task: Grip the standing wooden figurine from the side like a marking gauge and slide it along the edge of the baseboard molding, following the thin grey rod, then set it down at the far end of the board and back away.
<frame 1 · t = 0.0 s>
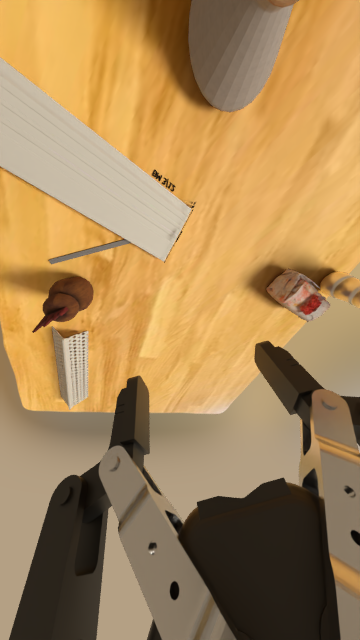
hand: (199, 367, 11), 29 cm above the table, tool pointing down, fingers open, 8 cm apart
food item: (285, 288, 45), on the table
corner bead: (73, 365, 49), on the table
plastic bottle: (327, 280, 45), on the table
wooden figurine: (80, 286, 36), on the table
baseboard molding: (96, 176, 26), on the table, touching thin grey rod
thin grey rod: (97, 249, 32), on the table
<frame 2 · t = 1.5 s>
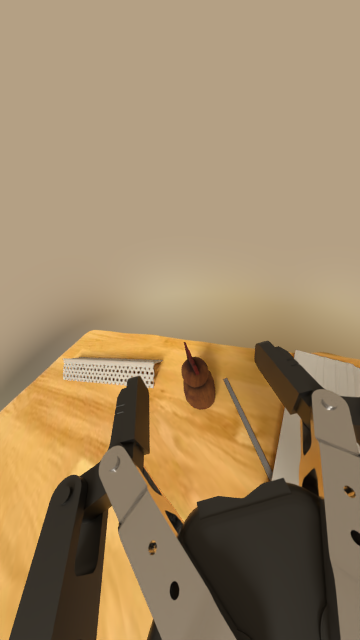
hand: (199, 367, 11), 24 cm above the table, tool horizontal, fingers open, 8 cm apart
corner bead: (112, 372, 46), on the table
wooden figurine: (202, 398, 34), on the table
baseboard molding: (327, 442, 25), on the table, touching thin grey rod
thin grey rod: (247, 425, 29), on the table
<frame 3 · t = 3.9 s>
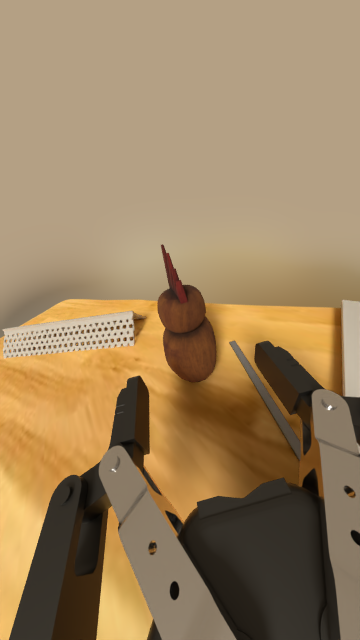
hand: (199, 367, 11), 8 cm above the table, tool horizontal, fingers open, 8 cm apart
corner bead: (77, 340, 34), on the table
wooden figurine: (196, 368, 22), on the table
thin grey rod: (272, 408, 16), on the table
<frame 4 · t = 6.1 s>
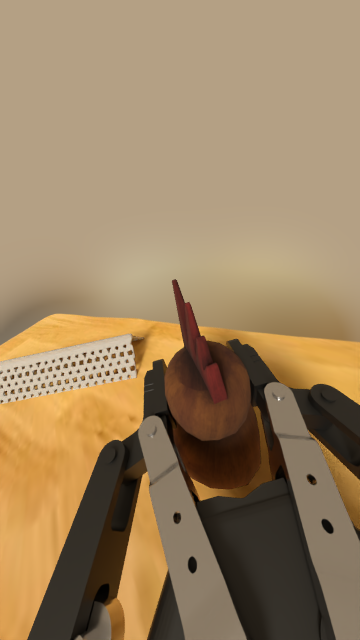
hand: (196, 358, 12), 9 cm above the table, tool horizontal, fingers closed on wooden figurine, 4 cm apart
corner bead: (58, 375, 27), on the table
wooden figurine: (218, 444, 15), on the table, touching gripper
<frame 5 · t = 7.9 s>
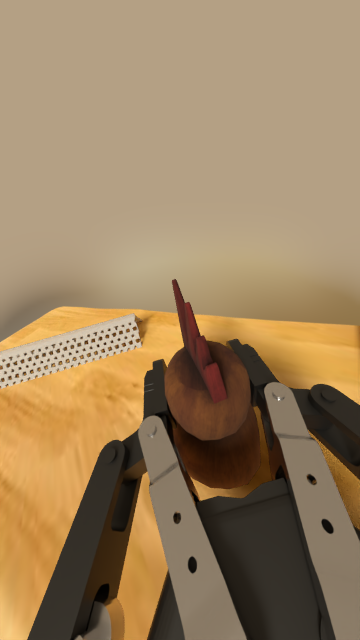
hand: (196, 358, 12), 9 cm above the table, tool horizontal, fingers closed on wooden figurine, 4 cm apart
corner bead: (69, 357, 31), on the table
wooden figurine: (218, 444, 15), on the table, touching gripper
when the fingers open (9 cm above the table, at t = 10.2 s): wooden figurine stays where it is, on the table.
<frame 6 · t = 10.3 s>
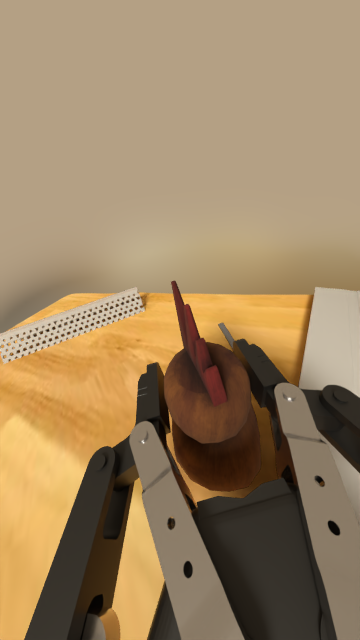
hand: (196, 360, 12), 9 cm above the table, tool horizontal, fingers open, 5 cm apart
corner bead: (83, 328, 38), on the table
wooden figurine: (218, 445, 15), on the table
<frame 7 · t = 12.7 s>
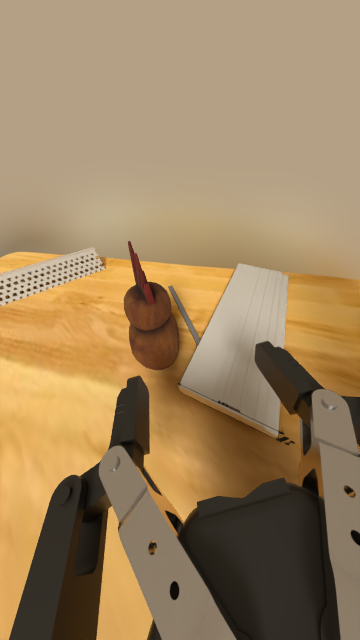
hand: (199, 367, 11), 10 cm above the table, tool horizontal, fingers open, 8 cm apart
corner bead: (41, 287, 38), on the table
wooden figurine: (159, 356, 23), on the table
baseboard molding: (252, 321, 27), on the table, touching thin grey rod
thin grey rod: (185, 316, 29), on the table
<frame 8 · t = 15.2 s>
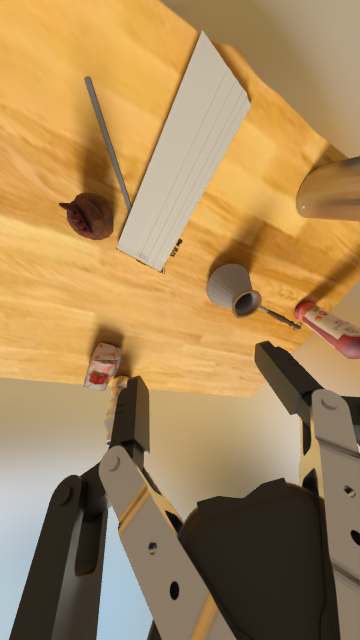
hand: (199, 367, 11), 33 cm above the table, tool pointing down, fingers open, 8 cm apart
food item: (106, 355, 53), on the table
plastic bottle: (122, 378, 60), on the table
coffee pot: (237, 287, 47), on the table
liquor: (301, 308, 55), on the table
wooden figurine: (100, 216, 33), on the table
baseboard molding: (177, 188, 32), on the table, touching thin grey rod
thin grey rod: (116, 167, 29), on the table
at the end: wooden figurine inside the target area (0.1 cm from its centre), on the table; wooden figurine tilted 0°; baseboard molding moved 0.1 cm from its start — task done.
